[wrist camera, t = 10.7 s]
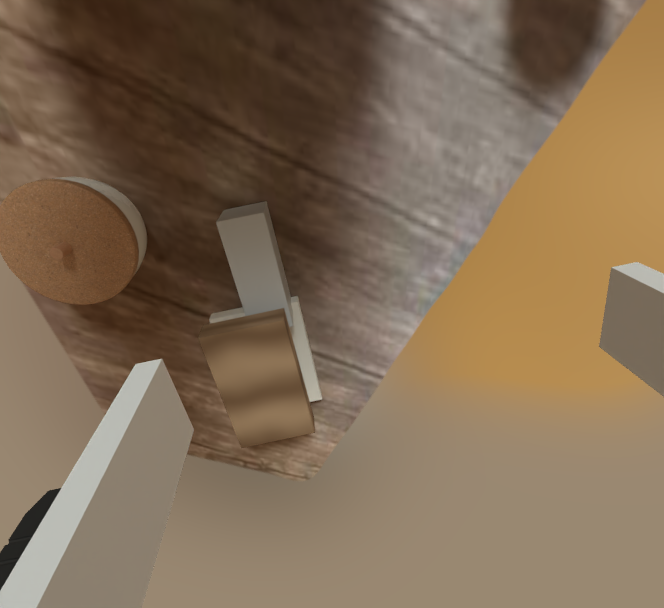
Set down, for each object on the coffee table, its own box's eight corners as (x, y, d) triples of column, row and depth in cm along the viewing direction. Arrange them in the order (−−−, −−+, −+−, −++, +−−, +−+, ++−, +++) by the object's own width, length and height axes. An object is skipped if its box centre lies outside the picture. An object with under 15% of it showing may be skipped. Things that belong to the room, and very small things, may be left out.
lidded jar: (71, 143, 37) (7, 152, 28) (180, 210, 40) (151, 237, 32) (29, 236, 40) (-40, 270, 31) (133, 291, 43) (96, 335, 35)
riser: (223, 209, 40) (215, 222, 36) (266, 201, 40) (263, 212, 36) (255, 312, 46) (251, 334, 41) (292, 304, 46) (293, 326, 41)
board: (203, 325, 39) (197, 338, 36) (283, 307, 39) (283, 320, 36) (244, 431, 45) (241, 448, 43) (313, 416, 45) (315, 432, 43)
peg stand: (211, 313, 45) (199, 343, 39) (297, 295, 45) (299, 323, 40) (245, 407, 52) (239, 445, 46) (321, 391, 52) (325, 427, 46)
